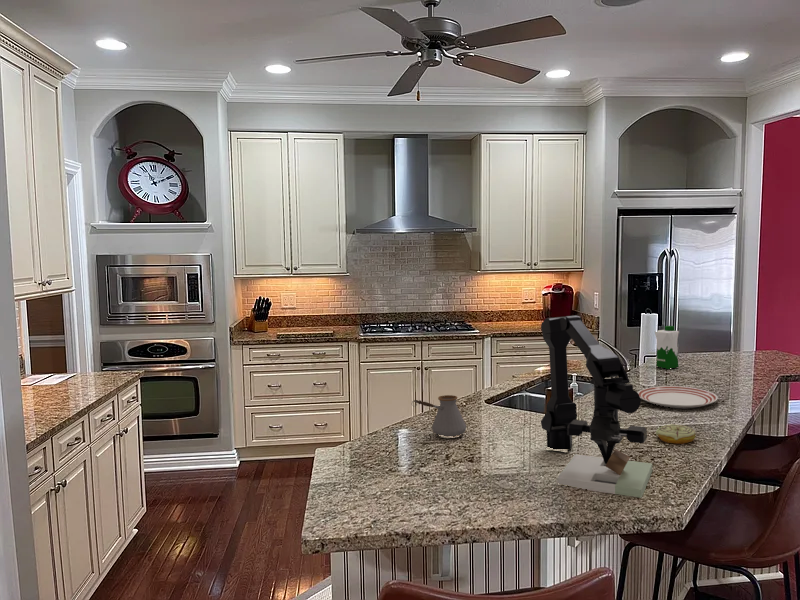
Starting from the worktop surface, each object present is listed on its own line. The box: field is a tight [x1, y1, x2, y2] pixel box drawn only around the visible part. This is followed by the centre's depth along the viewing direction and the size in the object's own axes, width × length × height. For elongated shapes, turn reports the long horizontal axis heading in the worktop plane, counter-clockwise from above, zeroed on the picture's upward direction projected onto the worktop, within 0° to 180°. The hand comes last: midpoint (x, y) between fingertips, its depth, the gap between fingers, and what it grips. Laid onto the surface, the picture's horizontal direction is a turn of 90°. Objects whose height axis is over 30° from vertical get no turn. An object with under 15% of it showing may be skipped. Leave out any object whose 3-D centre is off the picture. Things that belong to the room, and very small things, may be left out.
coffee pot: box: [411, 394, 467, 436], centre depth 192 cm, size 21×12×15 cm, turn 132°
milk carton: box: [654, 325, 680, 370], centre depth 284 cm, size 9×9×20 cm
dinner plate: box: [637, 385, 718, 409], centre depth 223 cm, size 27×27×3 cm
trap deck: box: [556, 453, 653, 499], centre depth 153 cm, size 20×19×2 cm
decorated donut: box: [655, 423, 697, 445], centre depth 181 cm, size 10×11×4 cm
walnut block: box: [606, 448, 631, 475], centre depth 151 cm, size 4×4×4 cm
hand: (607, 463), depth 152 cm, fingers closed, pressing on walnut block
